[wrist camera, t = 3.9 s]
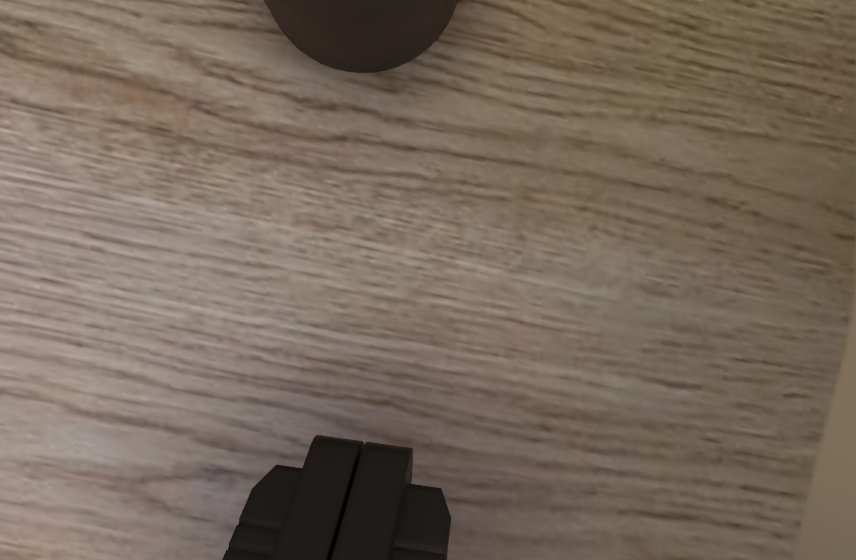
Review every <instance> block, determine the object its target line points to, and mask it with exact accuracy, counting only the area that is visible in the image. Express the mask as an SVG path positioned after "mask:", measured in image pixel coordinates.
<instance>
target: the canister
mask: <svg viewBox="0 0 856 560" xmlns="http://www.w3.org/2000/svg"><path fill="white" fill-rule="evenodd" d="M264 1H265V3H266V5H267V6H268V8H269V10H270V12H271V14H272V15H273V17H274V19H275V20H276V22H277V24H278V25H279V27H280V29H281V30H282V31H283V32H284V34H285V35H286V36H287V37H288V39H289V40H290V41H291V42H292V43H293V44H294V45H296V46H297V47H298V48H299V49H300V50H301V51H303V52H304V53H305V54H307V55H308V56H309V57H311V58H313V59H315V60H317V61H318V62H320V63H322V64H325V65H327V66H330V67H332V68H336V69H340V70H344V71H350V72H358V73H362V72H377V71H384V70H388V69H391V68H395V67H398V66H400V65H402V64H404V63H407V62H409V61H410V60H412V59H414V58H415V57H417V56H419V55H420V54H421V53H422V52H424V51H425V50H426V49H427V48H429V47H430V46H431V45H432V44H433V42H434V41H435V40H436V39H437V38H438V37H439V36H440V34H441V33H442V32H443V30H444V29H445V27H446V26H447V24H448V22H449V20H450V18H451V16H452V14H453V12H454V9H455V6H456V4H457V1H458V0H264Z"/></svg>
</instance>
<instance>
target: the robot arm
mask: <svg viewBox="0 0 856 560" xmlns="http://www.w3.org/2000/svg"><path fill="white" fill-rule="evenodd" d="M412 464H413V448H408V447H401V446H393V445H386V444H379V443H372V442H366V443H365V445H364V442H363V441H356V440H349V439H342V438H335V437H328V436H321V435H316V436H315V437H314V439H313V441H312V443H311V446H310V449H309V452H308V454H307V457H306V460H305V463H304V465H303V468H295V467H289V466H282V465H276V466H275V467H274V468H273V469H272V470H271V471H270V472H269V473H268V474H267V475H266V476H265V477H264V478H263V479H261V480H260V481H259V482H258V483H257V484H256V485H255V486H254V487H253V488H252V490H251V493H250V495H249V497H248V500H247V502H246V504H245V507H244V509H243V512H242V514H241V516H240V519H239V524H238V525H237V526H236V528H235V531H234V533H233V535H232V538H231V540H230V543H229V548H228V550H226V552H225V554H224V557H223V559H222V560H447V552H448V543H449V533H450V524H451V517H450V514H449V510H448V507H447V504H446V501H445V498H444V495H443V492H442V489H441V488H435V487H428V486H421V485H414V484H411V480H412Z"/></svg>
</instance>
